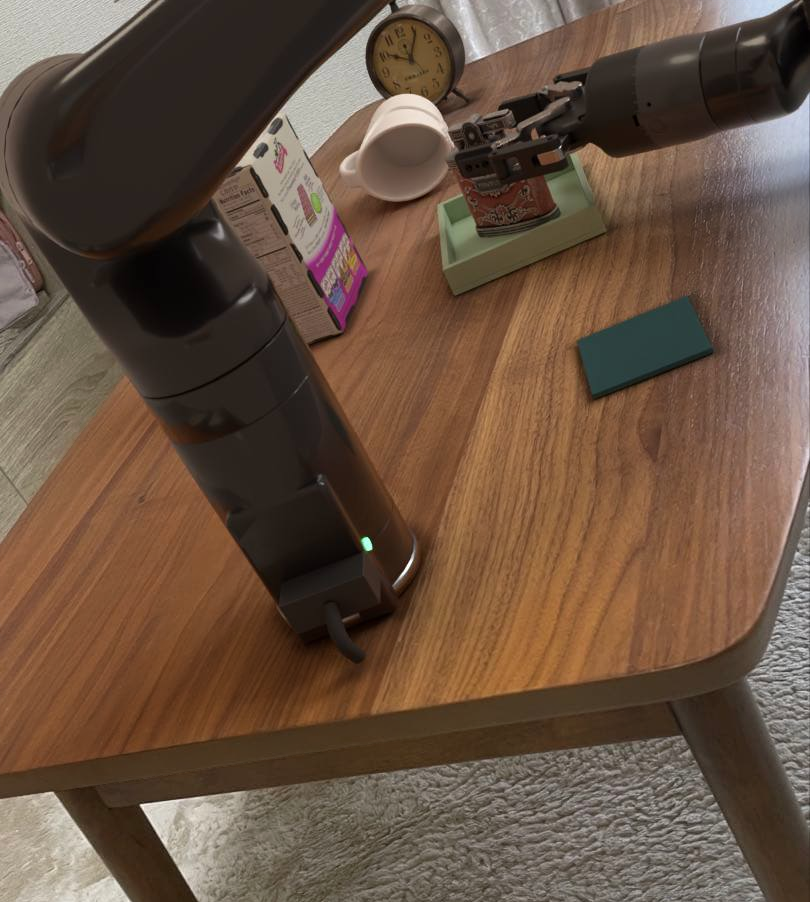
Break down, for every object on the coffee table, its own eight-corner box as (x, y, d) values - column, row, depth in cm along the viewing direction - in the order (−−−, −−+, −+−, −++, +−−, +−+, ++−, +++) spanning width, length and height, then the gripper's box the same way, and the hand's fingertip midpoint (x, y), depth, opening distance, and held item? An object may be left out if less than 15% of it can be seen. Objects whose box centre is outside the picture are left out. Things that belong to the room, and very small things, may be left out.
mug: (464, 148, 130) (434, 77, 126) (465, 180, 122) (432, 105, 118) (361, 193, 133) (328, 125, 129) (355, 227, 126) (320, 155, 121)
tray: (606, 231, 99) (596, 203, 98) (454, 296, 102) (442, 270, 101) (582, 169, 111) (572, 144, 110) (447, 228, 114) (436, 204, 113)
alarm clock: (392, 132, 146) (330, -2, 138) (408, 112, 150) (349, -20, 141) (473, 106, 140) (414, -36, 132) (487, 86, 144) (431, -54, 135)
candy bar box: (323, 289, 116) (238, 128, 107) (370, 273, 114) (287, 107, 105) (293, 351, 107) (198, 182, 99) (344, 335, 105) (251, 160, 97)
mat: (714, 352, 78) (712, 347, 78) (593, 399, 80) (591, 394, 80) (688, 300, 85) (687, 295, 84) (578, 344, 86) (576, 340, 86)
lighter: (472, 242, 108) (425, 137, 103) (489, 221, 110) (444, 117, 105) (551, 228, 103) (506, 116, 98) (567, 207, 105) (524, 96, 100)
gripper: (677, 7, 95) (499, 59, 105) (612, 91, 86) (425, 139, 96) (705, 98, 99) (531, 140, 108) (646, 188, 90) (462, 225, 100)
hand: (481, 140), depth 102 cm, fingers open, 8 cm apart
